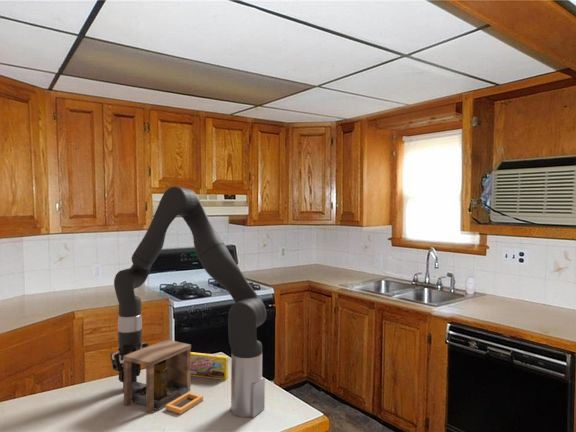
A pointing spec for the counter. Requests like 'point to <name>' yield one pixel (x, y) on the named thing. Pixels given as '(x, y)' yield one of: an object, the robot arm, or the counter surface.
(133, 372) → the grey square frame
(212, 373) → the candy box
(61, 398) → the counter surface
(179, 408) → the pit trap
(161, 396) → the condiment
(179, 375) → the wooden side table
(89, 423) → the counter surface
